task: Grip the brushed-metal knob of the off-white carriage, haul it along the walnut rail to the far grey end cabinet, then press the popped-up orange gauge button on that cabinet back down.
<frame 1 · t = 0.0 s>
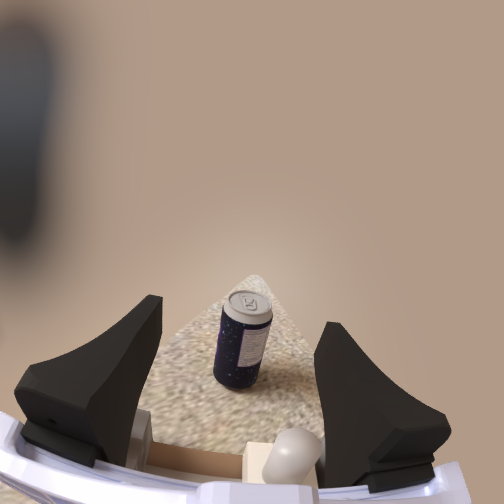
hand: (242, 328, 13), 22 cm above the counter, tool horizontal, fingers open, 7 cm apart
carriage: (285, 469, 21), point 6 cm above the counter, slide at -4.0 cm
rail: (228, 492, 23), on the counter
beverage can: (234, 379, 39), on the counter
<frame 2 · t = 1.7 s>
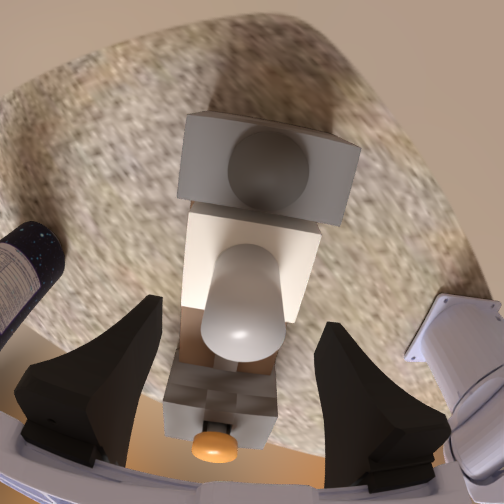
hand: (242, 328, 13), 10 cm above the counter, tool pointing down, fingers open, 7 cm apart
gauge button: (215, 439, 23), point 7 cm above the counter, slide at 0.0 cm
carriage: (245, 282, 17), point 6 cm above the counter, slide at -4.0 cm
rail: (239, 284, 24), on the counter
beverage can: (45, 247, 23), on the counter
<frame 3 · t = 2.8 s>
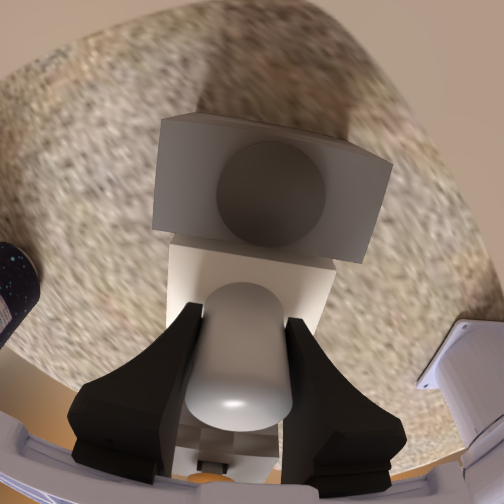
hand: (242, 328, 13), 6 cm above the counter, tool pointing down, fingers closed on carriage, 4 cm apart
gauge button: (211, 478, 19), point 7 cm above the counter, slide at 0.0 cm
carriage: (242, 330, 13), point 6 cm above the counter, slide at -4.0 cm, touching gripper
rail: (235, 315, 20), on the counter
beverage can: (20, 268, 19), on the counter
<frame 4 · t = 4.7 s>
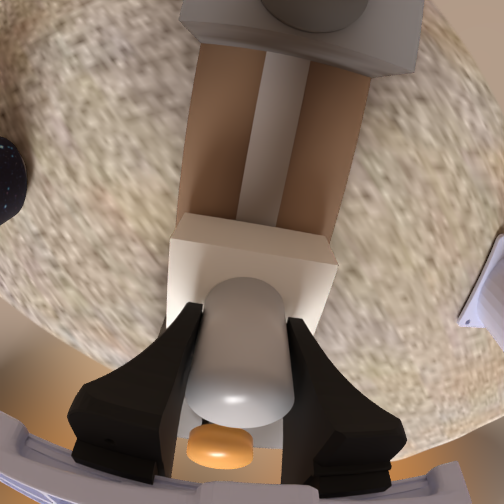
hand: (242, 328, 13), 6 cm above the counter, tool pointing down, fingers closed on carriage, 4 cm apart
gauge button: (221, 435, 16), point 7 cm above the counter, slide at 0.0 cm
carriage: (243, 325, 13), point 6 cm above the counter, slide at 3.2 cm, touching gripper
rail: (256, 206, 17), on the counter
beverage can: (8, 173, 16), on the counter
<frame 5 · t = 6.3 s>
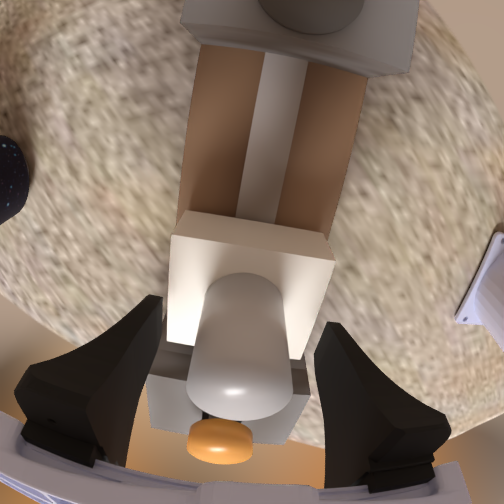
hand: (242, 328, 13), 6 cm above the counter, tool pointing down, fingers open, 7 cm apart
gauge button: (221, 430, 16), point 7 cm above the counter, slide at 0.0 cm
carriage: (242, 320, 14), point 6 cm above the counter, slide at 3.2 cm
rail: (256, 204, 17), on the counter
beverage can: (10, 172, 16), on the counter
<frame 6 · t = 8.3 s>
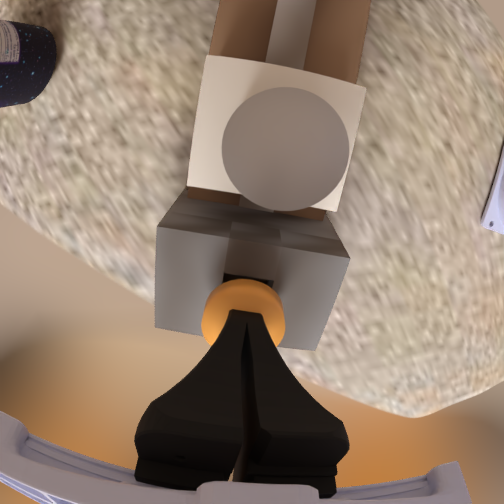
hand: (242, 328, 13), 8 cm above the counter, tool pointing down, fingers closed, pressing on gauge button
gauge button: (244, 308, 15), point 7 cm above the counter, slide at 0.1 cm, touching gripper
carriage: (277, 135, 12), point 6 cm above the counter, slide at 3.2 cm
rail: (280, 72, 16), on the counter
beverage can: (34, 64, 15), on the counter
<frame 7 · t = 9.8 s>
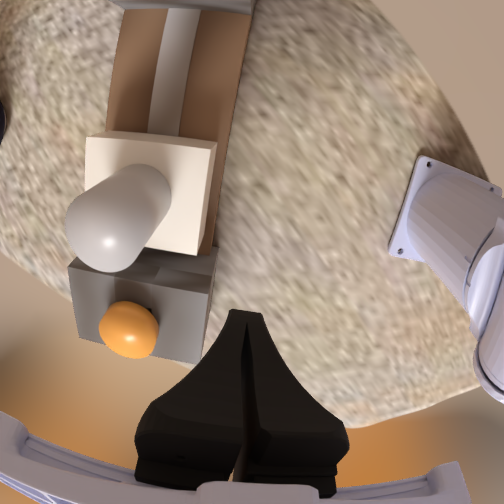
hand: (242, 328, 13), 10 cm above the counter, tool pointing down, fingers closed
gauge button: (133, 321, 19), point 6 cm above the counter, slide at 0.8 cm
carriage: (133, 201, 15), point 6 cm above the counter, slide at 3.2 cm
rail: (169, 128, 19), on the counter
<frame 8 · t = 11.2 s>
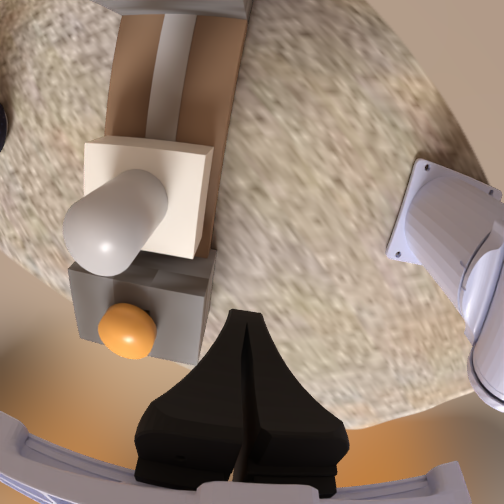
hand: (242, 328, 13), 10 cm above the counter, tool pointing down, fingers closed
gauge button: (131, 323, 19), point 6 cm above the counter, slide at 0.8 cm
carriage: (130, 206, 16), point 6 cm above the counter, slide at 3.2 cm
rail: (167, 132, 20), on the counter
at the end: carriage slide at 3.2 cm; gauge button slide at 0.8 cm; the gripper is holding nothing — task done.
